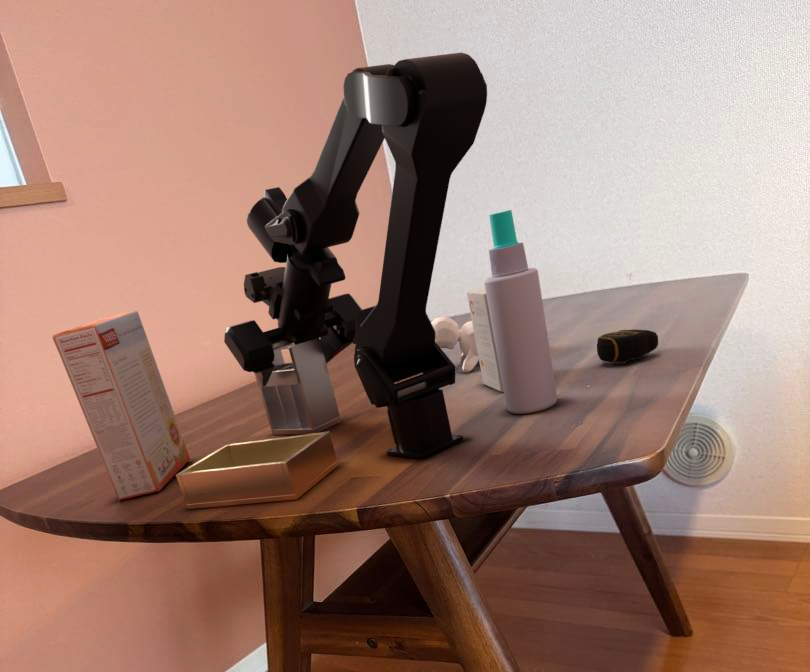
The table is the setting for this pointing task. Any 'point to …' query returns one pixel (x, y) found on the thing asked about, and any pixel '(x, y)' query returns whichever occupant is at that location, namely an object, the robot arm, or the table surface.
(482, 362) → the small box
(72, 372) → the cracker box
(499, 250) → the spray bottle
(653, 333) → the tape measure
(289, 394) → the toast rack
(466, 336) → the beige lumpy shape
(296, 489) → the copper metal tray
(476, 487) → the table surface
